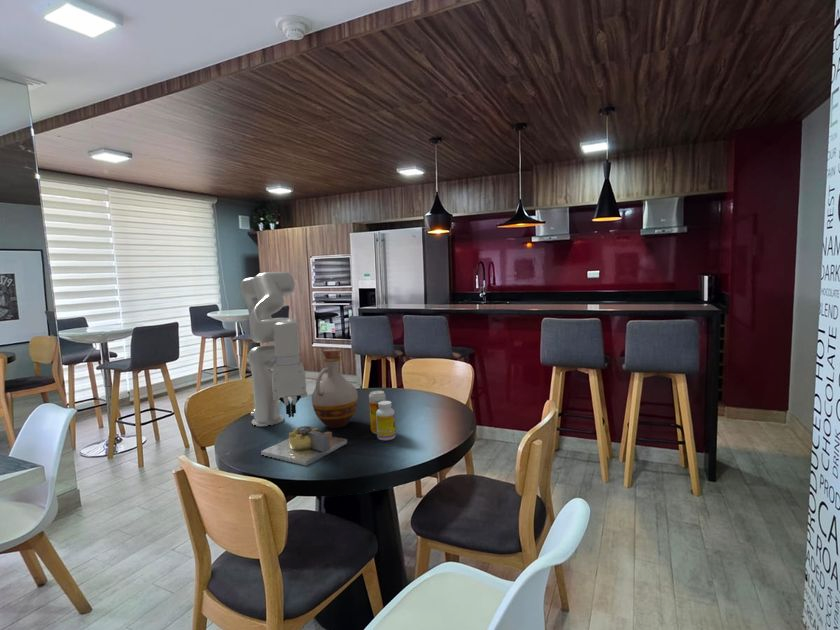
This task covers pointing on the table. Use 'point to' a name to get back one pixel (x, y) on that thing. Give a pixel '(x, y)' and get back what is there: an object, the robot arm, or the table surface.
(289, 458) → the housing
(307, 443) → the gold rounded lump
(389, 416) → the supplement bottle
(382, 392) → the orange pill bottle
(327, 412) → the jug
